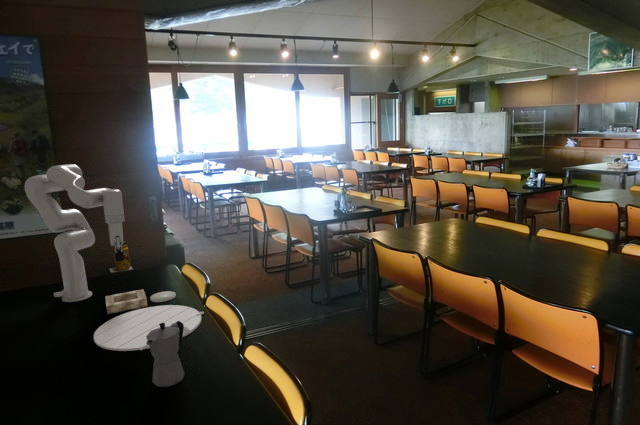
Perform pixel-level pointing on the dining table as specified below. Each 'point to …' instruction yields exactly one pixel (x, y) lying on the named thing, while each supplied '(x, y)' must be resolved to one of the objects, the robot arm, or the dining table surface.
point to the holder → (126, 301)
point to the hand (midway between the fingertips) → (119, 258)
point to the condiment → (122, 264)
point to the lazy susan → (143, 326)
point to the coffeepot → (166, 354)
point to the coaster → (163, 296)
